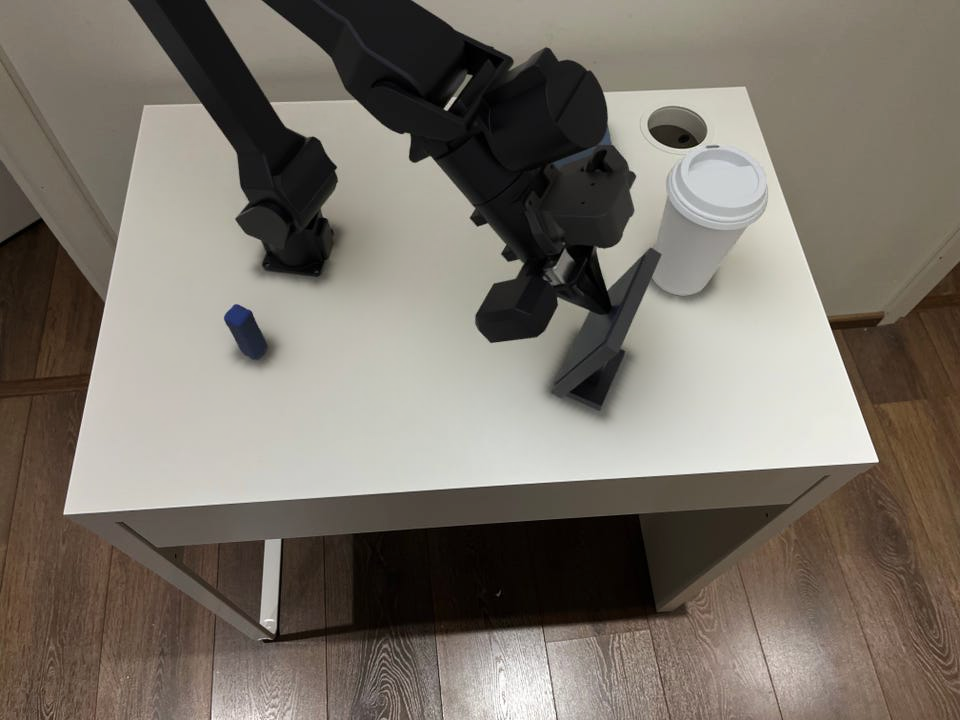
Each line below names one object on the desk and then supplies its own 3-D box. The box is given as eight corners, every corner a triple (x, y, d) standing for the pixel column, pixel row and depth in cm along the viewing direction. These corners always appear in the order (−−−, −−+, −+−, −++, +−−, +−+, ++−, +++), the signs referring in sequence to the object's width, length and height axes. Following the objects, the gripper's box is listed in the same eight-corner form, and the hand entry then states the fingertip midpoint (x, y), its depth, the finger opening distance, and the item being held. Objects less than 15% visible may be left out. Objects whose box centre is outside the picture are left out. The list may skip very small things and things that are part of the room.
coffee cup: (726, 248, 79) (779, 149, 66) (717, 316, 75) (772, 224, 62) (642, 229, 80) (678, 128, 67) (629, 296, 76) (665, 201, 63)
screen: (548, 391, 66) (604, 344, 55) (590, 304, 71) (649, 245, 60) (560, 399, 66) (618, 353, 55) (601, 311, 71) (662, 254, 60)
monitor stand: (553, 390, 70) (560, 363, 65) (578, 337, 73) (587, 306, 68) (599, 411, 69) (611, 384, 64) (623, 355, 72) (636, 326, 67)
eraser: (257, 363, 71) (239, 327, 65) (240, 353, 71) (220, 316, 65) (271, 347, 71) (254, 310, 66) (253, 337, 72) (235, 300, 66)
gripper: (523, 245, 43) (649, 394, 51) (625, 66, 52) (720, 217, 59) (417, 273, 52) (539, 398, 59) (520, 115, 60) (615, 242, 68)
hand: (606, 311), depth 61 cm, fingers closed, pressing on screen
